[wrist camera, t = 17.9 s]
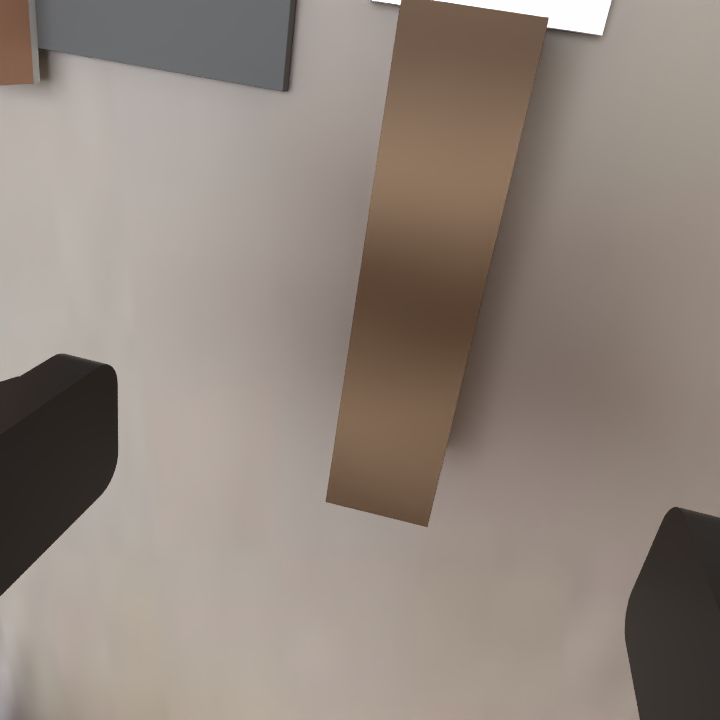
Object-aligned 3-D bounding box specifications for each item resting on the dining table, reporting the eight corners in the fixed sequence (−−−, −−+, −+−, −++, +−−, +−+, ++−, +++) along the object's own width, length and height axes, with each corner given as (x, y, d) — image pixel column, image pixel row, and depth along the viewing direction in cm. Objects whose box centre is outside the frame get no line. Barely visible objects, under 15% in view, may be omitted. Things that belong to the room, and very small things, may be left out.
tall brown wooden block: (484, 454, 23) (479, 539, 19) (316, 415, 23) (276, 489, 19) (680, -269, 14) (748, -398, 10) (410, -296, 15) (374, -425, 11)
